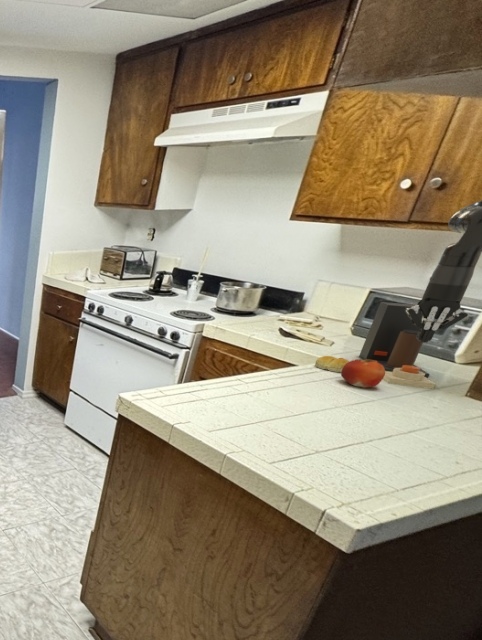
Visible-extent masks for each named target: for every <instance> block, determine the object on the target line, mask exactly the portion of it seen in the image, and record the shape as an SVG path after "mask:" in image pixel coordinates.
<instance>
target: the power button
mask: <svg viewBox="0 0 482 640" xmlns="http://www.w3.org/2000/svg"><path fill="white" fill-rule="evenodd" d="M415 366H416V365H415ZM415 366H410V365H403V366H402V369H401V371H404V372H408V373H415V374H418V371H419V369H421V368H420V367H418V366H417V367H415Z"/></svg>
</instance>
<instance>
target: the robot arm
mask: <svg viewBox="0 0 482 640" xmlns="http://www.w3.org/2000/svg"><path fill="white" fill-rule="evenodd" d="M448 227H449V229H450V230H451V231H452V232H455V233H457V234H462V236H461V237H460V238H459V240H458V241H457V242H453V243H449V244H448V245H447V246H446V247H445V248H444V249H443V251H442V254H441V256H440V259H439V260H438V263H437V266H436V267H435V268H434V270H433V272H432V274H431V276H430V277H429V280H428V282H427V285H426V288H425V290H424V293H423V295H422V297H421V299H420V300H419V301H417V304H415V305H416V306H414V307H411V308H406V309H405V312H406V313H407V315H408V317H409V318H410V320H411V322H412V323H413V325H415V326H417V327H419V328H420V330H419V332H418V334H417V337H416V339H418V341H419V342H423V343H428V342H430V341H432V339H433V337H434V335H435V333H436V331H438V330H446V329H448V328H450V327H451V326H453V325H455V324H456V323H459V322H460V321H462V320H464V319H465V318H467V317H468V316H469V314H468V313H467V312H465V311H463V310H462V309H461V302H462V300H463V298H464V297H465V296H464V295H465V294H466V291H467V289H468V287H469V285H470V283H471V281H472V278H473V276H474V272H475V269H476V266H477V264H478V263H479V261H480V257H481V256H482V200H479V201H476V202H473V203H471V204H468V205H466V206H464V207H462V208H460V209H459V210H457V211H456V212H455V213H453V215H451V217H450V218H449V220H448ZM418 309H419V310H420V312H421V314H422V315H423V316H422V322H421V321H420V319H419V318H418V316H417V313H418Z"/></svg>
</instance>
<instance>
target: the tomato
mask: <svg viewBox="0 0 482 640" xmlns="http://www.w3.org/2000/svg"><path fill="white" fill-rule="evenodd" d="M340 376H341V377H342V379H344V381H346V383H348V384H349V385H351V386H354V387H359V388H364V389H365V388H367V389H368V388H374V387H377V386H378V385H379V384H380V383H381V382H382V381H383V377H384V376H385V369H384V367H383V365H382V364H380V363H378V362H377V361H374V360H370V359H367V360H363V359H361V358H360V359H353V360H349V362H348V363H347V364H345V366H344V367H343V369H342V371H341V372H340Z"/></svg>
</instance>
